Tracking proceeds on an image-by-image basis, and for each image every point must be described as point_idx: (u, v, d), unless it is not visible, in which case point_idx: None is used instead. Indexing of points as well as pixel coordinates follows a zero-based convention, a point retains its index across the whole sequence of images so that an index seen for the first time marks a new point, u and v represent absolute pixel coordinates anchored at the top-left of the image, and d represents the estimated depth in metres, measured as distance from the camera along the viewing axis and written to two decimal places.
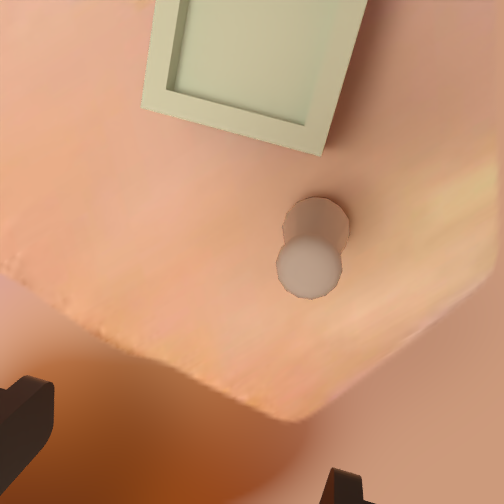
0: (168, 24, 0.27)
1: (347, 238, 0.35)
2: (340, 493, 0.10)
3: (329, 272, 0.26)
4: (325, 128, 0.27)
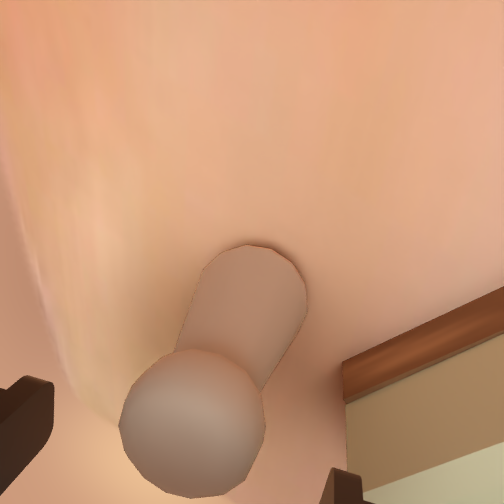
0: None
1: None
2: (340, 493, 0.10)
3: (154, 479, 0.12)
4: None
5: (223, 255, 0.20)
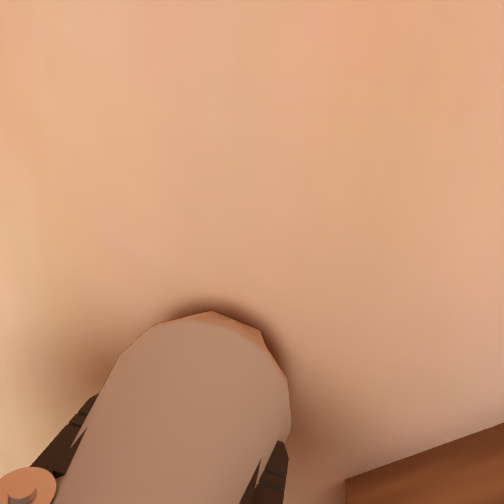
0: None
1: None
2: None
3: None
4: None
5: (149, 337, 0.12)
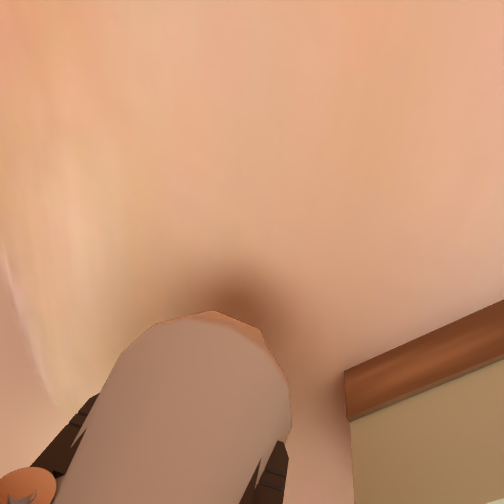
0: None
1: None
2: None
3: None
4: None
5: (149, 336, 0.12)
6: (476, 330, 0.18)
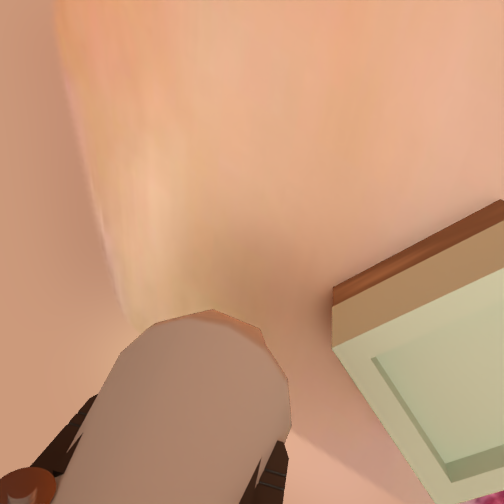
0: None
1: None
2: None
3: None
4: (351, 370, 0.24)
5: (149, 336, 0.12)
6: (415, 251, 0.29)
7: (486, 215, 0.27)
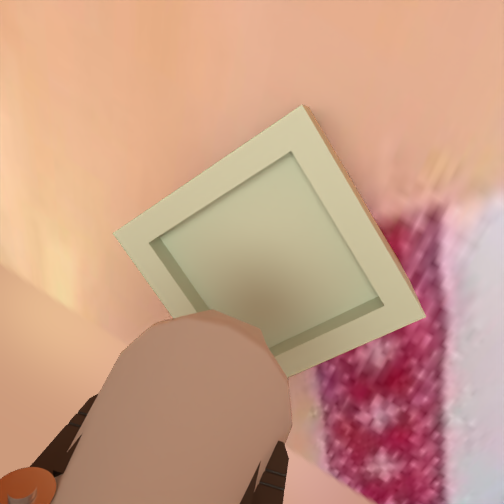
0: (339, 211, 0.21)
1: None
2: None
3: None
4: (133, 256, 0.25)
5: (149, 335, 0.12)
6: None
7: None
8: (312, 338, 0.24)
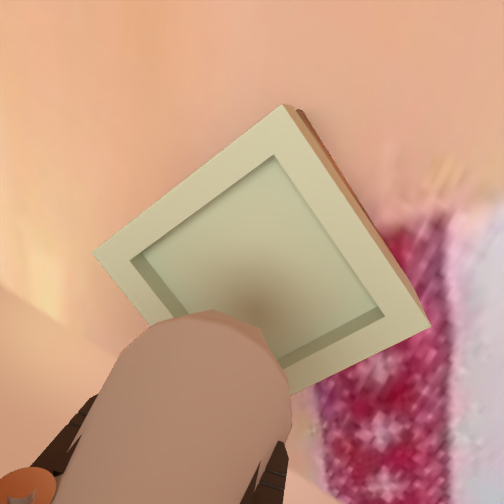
0: (329, 216, 0.20)
1: None
2: None
3: None
4: (114, 275, 0.23)
5: (150, 335, 0.12)
6: None
7: None
8: (310, 354, 0.22)
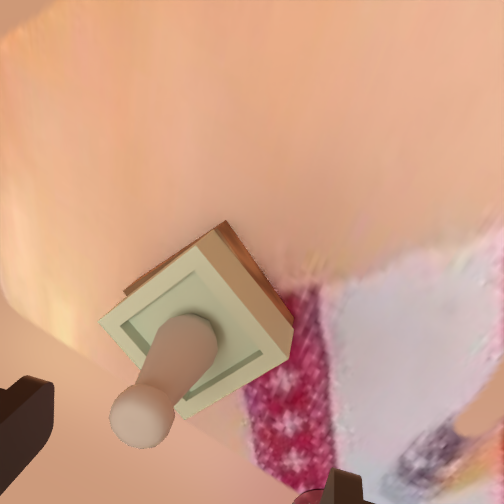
0: (227, 301, 0.36)
1: None
2: (340, 493, 0.10)
3: (124, 440, 0.28)
4: (111, 334, 0.39)
5: (169, 322, 0.36)
6: (176, 254, 0.44)
7: None
8: (226, 376, 0.39)
